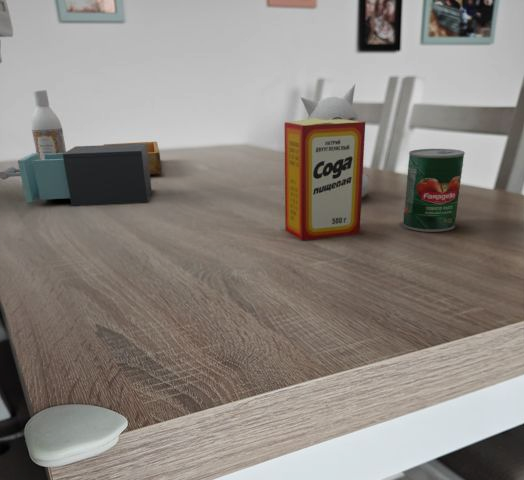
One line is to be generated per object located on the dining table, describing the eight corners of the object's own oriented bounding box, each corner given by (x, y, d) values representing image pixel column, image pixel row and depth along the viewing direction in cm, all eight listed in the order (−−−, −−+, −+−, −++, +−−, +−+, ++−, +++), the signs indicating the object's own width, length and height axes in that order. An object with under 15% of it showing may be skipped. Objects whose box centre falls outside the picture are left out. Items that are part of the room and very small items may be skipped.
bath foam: (37, 180, 136) (19, 90, 127) (46, 176, 142) (29, 90, 133) (66, 179, 136) (50, 90, 127) (73, 175, 142) (58, 89, 133)
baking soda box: (339, 223, 89) (343, 116, 82) (359, 233, 83) (365, 118, 76) (285, 230, 86) (284, 119, 79) (302, 240, 81) (302, 122, 74)
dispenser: (71, 205, 107) (62, 153, 103) (83, 193, 119) (75, 146, 114) (147, 202, 109) (141, 150, 104) (151, 190, 120) (146, 143, 116)
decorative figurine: (303, 208, 100) (304, 86, 91) (284, 193, 113) (283, 85, 104) (380, 202, 103) (388, 83, 94) (353, 188, 115) (358, 82, 107)
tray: (106, 163, 161) (103, 142, 158) (158, 160, 163) (156, 139, 161) (99, 180, 134) (95, 155, 131) (162, 176, 136) (159, 152, 134)
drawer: (1, 203, 106) (-9, 161, 103) (17, 192, 117) (9, 153, 113) (97, 199, 108) (90, 157, 105) (105, 188, 118) (99, 150, 115)
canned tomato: (429, 235, 82) (438, 156, 77) (392, 224, 88) (397, 151, 83) (466, 226, 85) (476, 151, 80) (427, 217, 91) (434, 147, 86)
